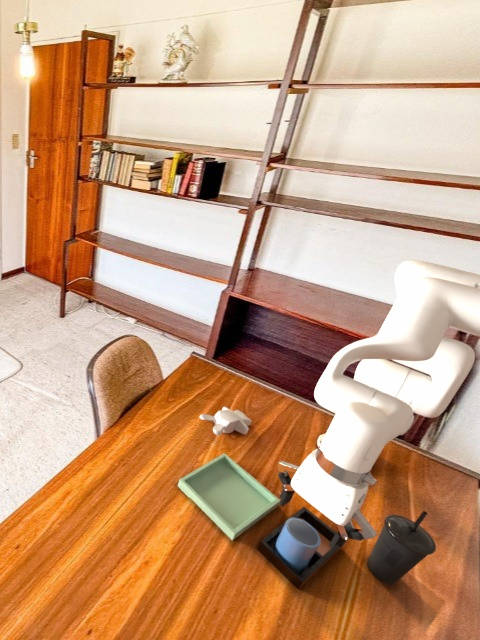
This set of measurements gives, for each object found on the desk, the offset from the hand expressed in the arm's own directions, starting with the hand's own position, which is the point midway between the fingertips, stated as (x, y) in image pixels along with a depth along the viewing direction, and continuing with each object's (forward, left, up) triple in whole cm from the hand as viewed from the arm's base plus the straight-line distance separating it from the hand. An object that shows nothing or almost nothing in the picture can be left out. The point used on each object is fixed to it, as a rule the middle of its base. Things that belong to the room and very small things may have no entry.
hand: (308, 522), depth 80 cm
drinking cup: (-15, +11, -13) cm, 23 cm away
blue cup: (0, 0, -13) cm, 13 cm away
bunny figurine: (-21, -31, -13) cm, 40 cm away
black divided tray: (-4, 0, -13) cm, 14 cm away
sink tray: (-1, -16, -13) cm, 21 cm away
